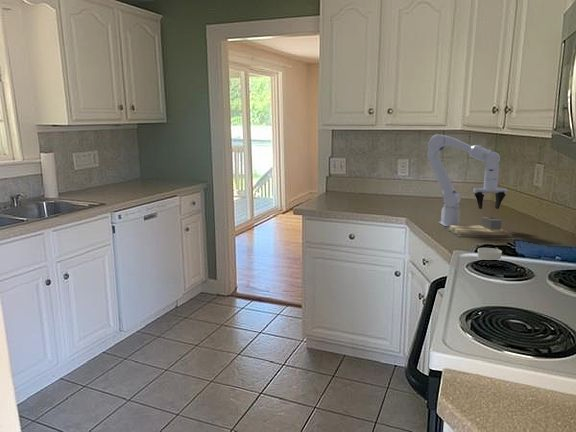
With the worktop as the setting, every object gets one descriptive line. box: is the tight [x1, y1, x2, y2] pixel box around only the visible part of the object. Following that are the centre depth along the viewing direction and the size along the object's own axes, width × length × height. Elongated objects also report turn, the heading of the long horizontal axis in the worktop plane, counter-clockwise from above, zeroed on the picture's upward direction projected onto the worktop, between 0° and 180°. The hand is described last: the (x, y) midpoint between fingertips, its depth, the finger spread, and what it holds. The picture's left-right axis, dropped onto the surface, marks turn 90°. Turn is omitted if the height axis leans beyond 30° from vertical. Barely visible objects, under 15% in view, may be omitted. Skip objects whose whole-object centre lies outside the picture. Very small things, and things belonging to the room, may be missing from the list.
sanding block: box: [481, 216, 502, 231], centre depth 192 cm, size 8×4×4 cm, turn 3°
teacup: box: [477, 247, 503, 260], centre depth 146 cm, size 10×10×5 cm
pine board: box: [443, 224, 514, 238], centre depth 193 cm, size 18×23×2 cm
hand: (488, 208), depth 200 cm, fingers open, 7 cm apart
